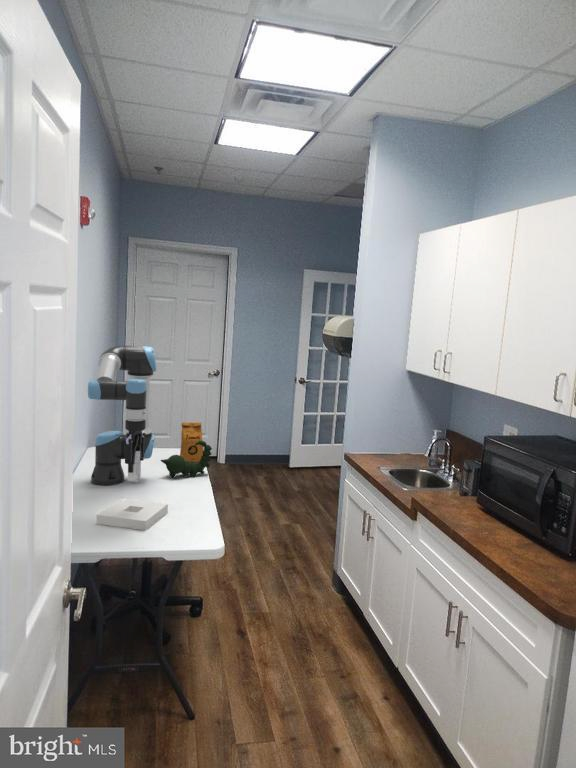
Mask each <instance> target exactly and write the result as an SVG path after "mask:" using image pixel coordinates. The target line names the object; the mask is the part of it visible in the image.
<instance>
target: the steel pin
mask: <svg viewBox="0 0 576 768" xmlns="http://www.w3.org/2000/svg"><path fill="white" fill-rule="evenodd" d="M134 464H136V465H135V481H131V480H128V482H129V483H131V484H134V483H139V482H140V481H141V479H140V478H141V477H140V450H136V453H135V462H134Z"/></svg>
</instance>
